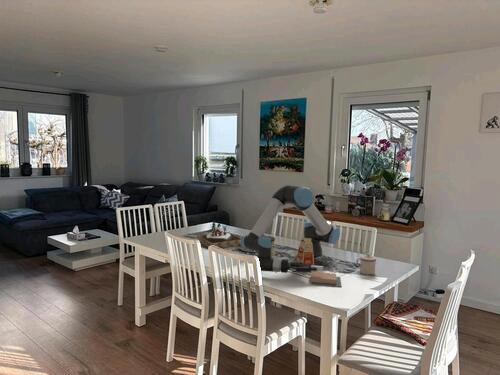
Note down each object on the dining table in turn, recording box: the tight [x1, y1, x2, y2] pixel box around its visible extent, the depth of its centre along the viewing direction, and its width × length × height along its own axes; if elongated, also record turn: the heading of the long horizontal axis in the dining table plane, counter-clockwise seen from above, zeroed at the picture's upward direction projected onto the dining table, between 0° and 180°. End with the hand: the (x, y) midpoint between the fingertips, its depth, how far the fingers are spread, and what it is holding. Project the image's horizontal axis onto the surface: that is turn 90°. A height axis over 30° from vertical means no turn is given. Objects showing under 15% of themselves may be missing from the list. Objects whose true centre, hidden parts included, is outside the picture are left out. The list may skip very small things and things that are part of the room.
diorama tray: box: [196, 231, 242, 249], centre depth 291 cm, size 28×28×4 cm
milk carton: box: [295, 236, 315, 266], centre depth 232 cm, size 9×9×20 cm
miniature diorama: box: [205, 220, 233, 243], centre depth 290 cm, size 20×20×17 cm
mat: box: [311, 276, 342, 288], centre depth 211 cm, size 16×15×1 cm
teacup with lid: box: [356, 253, 377, 275], centre depth 228 cm, size 12×9×12 cm
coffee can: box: [262, 235, 276, 259], centre depth 251 cm, size 10×10×14 cm
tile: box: [310, 271, 337, 284], centre depth 211 cm, size 3×10×14 cm
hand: (322, 269), depth 211 cm, fingers closed
